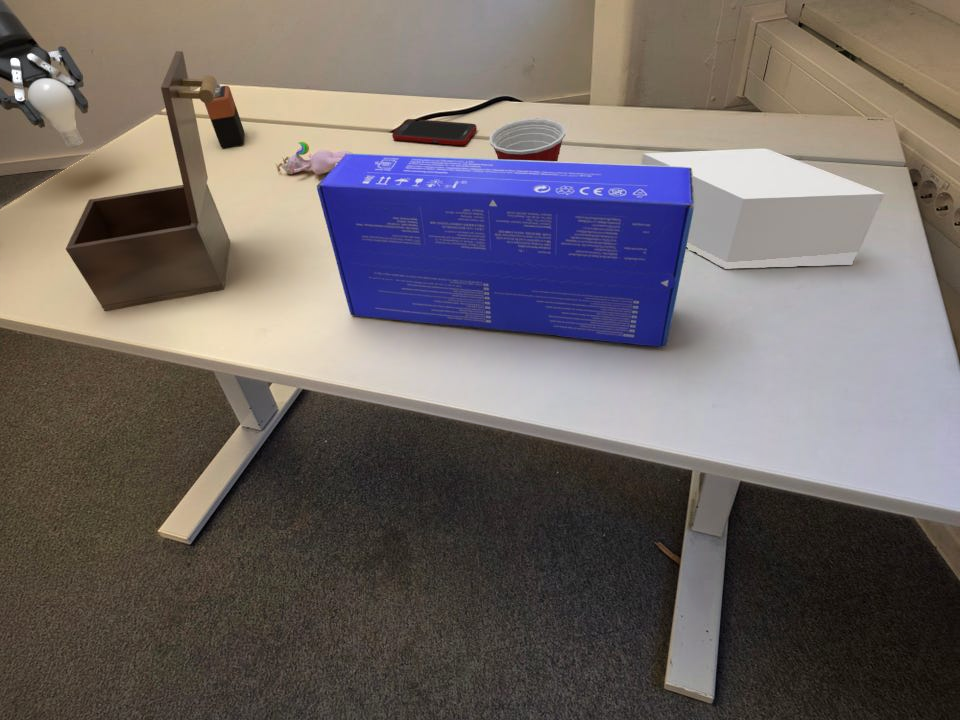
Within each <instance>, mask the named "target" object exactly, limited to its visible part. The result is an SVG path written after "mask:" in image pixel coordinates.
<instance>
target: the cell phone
mask: <svg viewBox="0 0 960 720" xmlns="http://www.w3.org/2000/svg"><path fill="white" fill-rule="evenodd" d="M415 120H418V118H407V119H405V120H404V121H403V122H402V123H401V124H400V125H399V126H398V127H397V128H396V129H395V130H394V131H393V133H392V134H391V136H392V139H393V140H396V141H404V142H405V141H406V142H417V143H427V144H428V143H429V144H439V145H440V144H441V145H450V146H451V145H453V146H465V145H467V143H469V141H470V139H471V138H472V137H473V135H474V134H475V133H476V131H477V125H476V124H475V123H471V122H470V123H469V122H458V121H456V122H455V121H445V120H444V121H443V120H431V119H419V121H415Z"/></svg>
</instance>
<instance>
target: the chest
mask: <svg viewBox="0 0 960 720" xmlns="http://www.w3.org/2000/svg"><path fill="white" fill-rule="evenodd" d="M230 245H231V239H230V237H229V234H228V232H227V230H226V226H225V225H224V222H223V219H222V217H221V215H220V212H219V210H218V207H217V205H216V202H215V200H214V197H213V194H212V192H211V189H210V187H209V185H208V183H207V184H206V189H205V194H204V199H203V204H202V209H201V214H200V219H199V223H198V224H192V222H191V217H190V213H189V209H188V204H187V200H186V195H185V191H184V187H183V184H179V185H172V186H165V187H161V188H160V187H159V188H154V189H148V190H142V191H135V192H129V193H122V194H116V195H115V194H114V195H110V196H105V197H97V198H90V199H88V201H87V203H86V205H85V207H84V209H83V212H82V214H81V215H80V217H79V219H78V221H77V224H76V225H75V227H74V231H73V233H72V235H70V239H69V241H68V243H67V244H66V247H65V251H66V252H67V254H68V255H69V257H70V259H71V260H72V262H73V263H74V265H75V266H76V268H77V270H78V272H79V273H80V275H81V277H83V279H84V280H85V283H86V284H87V285H88V287H89V289H90V290H91V292H92V293H93V294H94V297H95V298H96V300H97V302H98V303H99V304H100V306H101V308H102V309H103V311H104V312H107V311H112V310H117V309H123V308H128V307H133V306H140V305H144V304H150V303H155V302H156V303H157V302H163V301H167V300H172V299H177V298H184V297H189V296H194V295H200V294H205V293H211V292H216V291H223V290H225V285H226V278H227V277H226V276H227V269H228V260H229V252H230Z"/></svg>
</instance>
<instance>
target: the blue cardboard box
mask: <svg viewBox="0 0 960 720" xmlns="http://www.w3.org/2000/svg"><path fill="white" fill-rule="evenodd" d="M316 190H317V194H318V197H319V202H320V205H321V209H322V212H323V216H324V217H323V218H324V221H325V224H326V228H327V232H328V235H329V239H330V243H331V247H332V251H333V254H334V259H335V261H336V265H337V270H338V274H339V278H340V281H341V285H342V289H343V293H344V296H345V301H346V303H347V308H348V311H349V314H350V315H351V316H354V317H358V318H359V317H360V318H374V319H383V320H391V321H392V320H394V321H403V322H410V323H411V322H412V323H423V324H431V325H445V326H452V327H460V328H461V327H462V328H473V329H482V330H492V331H504V332H513V333H524V334H535V335H545V336H546V335H547V336H548V335H549V336H559V337H562V338H563V337H565V338H572V339H580V340H581V339H583V340H593V341H601V342H602V341H603V342H611V343H622V344H629V345H630V344H631V345H640V346H652V347H660V346H665V347H667V346H668V340H669V337H670V336H669V335H670V330H671V326H672V321H673V316H674V311H675V307H676V302H677V301H676V300H677V296H678V291H679V286H680V281H681V275H682V272H683V265H684V262H685V261H684V260H685V255H686V251H687V249H686V246H687V240H688V235H689V230H690V226H691V221H692V215H693V210H694V187H693V171H692V169H691V168H690V167H679V166H654V165H641V164H627V163H603V162H578V161H577V162H576V161H557V162H555V161H529V160H502V159H498V158H475V157H472V158H469V157H467V158H466V157H450V156H449V157H447V156H445V157H443V156H423V155H421V156H420V155H395V154H373V153H372V154H369V153H368V154H367V153H353V154H345V156H344V157H343V158H342V159H341V160H340V161H339V162H338V163H336V164H335V167H334V168H333V169H332V170H331V171H329V172H328V174H326V176H324V177H323V178H322V179H321V180H320V182H318V184H317V185H316Z"/></svg>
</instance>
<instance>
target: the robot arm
mask: <svg viewBox="0 0 960 720" xmlns="http://www.w3.org/2000/svg"><path fill="white" fill-rule="evenodd" d="M52 61H53V62H56V63H57V64H58V65H59V66H60V67H63V68H64V69H65V71H66V72H67V74H68V75H65V74H64V73H62V72H61V71H60V69H59V68H56V67H55V66H53V65H52ZM43 78H50V79H54V80H57V81H59V82H61V83H63V84H64V85H66V86H67V87H68V88H69V89H70V91H71V92H72V94H73V96H74V98H75V102H76V108H78V109H79V110H80V112H81V113H82V114H83V115H84V114H87V113H89V112H88V111H89V101H88V99H87V98H86V96H85V95H84V94H83V93H82V92H81V90H80V88H83V87H84V75H83V73H82V72H81V70H80V68H79V67H78V65H77V64H76V62H75V61H74V59H73V57H72V55H71V54H70V52H69V51H68V49H67V48H66V47H65V46H62V45H61V46H58V47H57V50H52V51H47V50H46V49H44V48H42V47H41V46H40V45H39V44H38V42H37V41H36V39H35V38H34V37H33V35H32V34H31V33H30V32H29V31H28V29H27V28H26V26H25V25H24V23H22V21H21V20H20V19H19V18H18V16H17V15H16V14H15V12H14V11H13V10H12V8H11V7H10V6H9V4H8V3H7V2H6V1H5V0H0V79H3V80H5V81H7V82H9V83H12V85H13V91H14V95H8V94H7V92H6V91H5V90H4V89H3V88H2V87H1V86H0V106H1V107H2V108H3V109H4V110H6V111H10V110H12V109H18V110H20V111H21V112H22V114H23V115H24V116H25V117H26V118H27V120H28V121H29V122H30V123H31V125H33V126H34V127H36V126H37V127H39V128H40V129H42V128H45V127H46V123H45V119H44V118H43V117H41V116H40V115H39V113H38V112H37V111H36V110H35V108H34V107H33V106H32V104H31V103H30V102H29V101H28V99H26V91H25V88H27V90H28V89H29V87H30V85H31V84H32V83H33V82H34V81H36V80H38V79H43Z"/></svg>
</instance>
